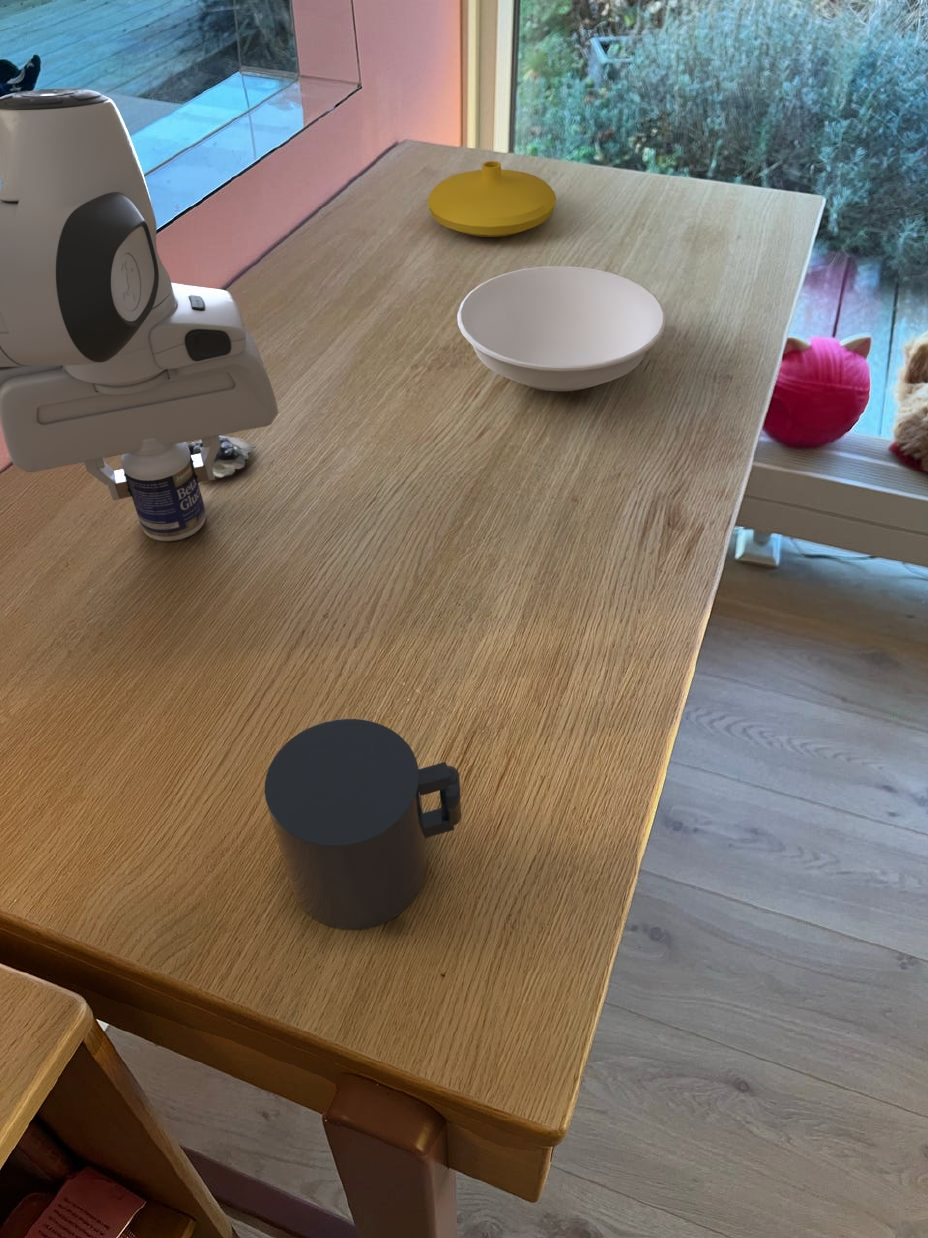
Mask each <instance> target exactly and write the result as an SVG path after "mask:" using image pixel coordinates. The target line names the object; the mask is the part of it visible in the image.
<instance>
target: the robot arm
mask: <svg viewBox="0 0 928 1238" xmlns="http://www.w3.org/2000/svg"><path fill="white" fill-rule="evenodd" d="M0 182H1V188H0V427H1V431H2V436H3V440H4V442H5V446H6V449H7V452H8V455H9V458H10V461H11V462H12V464H13V466H15V467H17V468H19V469H21V470H22V471H24V472H26V473H36V472H40V471H45V470H46V471H47V470H51V469H56V468H62V467H67V466H71V465H77V464H80V463H84V465H85V468H86V471H87V473H89V474H90V475H92V476H93V477H94V478H96V479H97V480H98V481H100V482H101V483H102V484H104V485H105V486H107V487H108V490H109V492H110V495H111V498H112V501H118V500H123V499H128V498H132V495H131V492H130V489H129V486H128V483H127V480H126V477H125V474H124V471H123V468H122V469H116V470H115V469H113V467H111V466H110V465H109V464H108V463H107V462H105V459H106V458H107V459H108V458H111V457H117V456H122V455H123V454H128V453H133V452H138V451H140V450H141V448H142V446H143V442H142V441H143V440H145V439H150V438H156V440H157V442H158V443H160V444H161V445H163V446H168V445H173V444H178V443H183V442H186V443H187V442H195V441H200V440H201V441H202V445H203V447H202V450H201V452H200V454H196V455H191V457H192V461H193V469H194V472H195V475H196V480H197V483H198V484H200V483H204V482H211V481H214V480H216V479H215V477H214V473H213V469H212V464H213V462H214V459H215V457H216V455H217V453H218V450H219V448H220V446H221V444H220V440H219V436H222V435H223V436H225V435H228V434H233V433H238V432H243V431H250V430H254V429H259V428H265V427H268V426H270V425H272V424H273V422H274V421H275V420H276V417H277V416H278V414H279V408H278V403H277V399H276V395H275V392H274V389H273V386H272V382H271V378H270V376H269V373H268V370H267V368H266V365H265V363H264V359H263V357H262V354H261V352H260V350H259V348H258V345H257V342H256V340H255V338H254V337H253V336H252V334H251V333H250V331H249V330H248V329H247V328H246V327H245V322H244V318H243V315H242V313H241V310H240V308H239V305H238V304H237V301H236V300H235V298H234V297H233V295H232V294H231V293H230V292H229V291H228V290H224V289H219V288H211V287H204V286H196V285H187V284H182V283H176V282H172V280H171V277H170V275H169V272H168V270H167V268H166V267H165V265H164V264H163V262H162V260H161V258H160V255H159V252H158V246H157V234H158V233H157V230H158V228H157V227H158V226H157V220H156V216H155V211H154V207H153V204H152V200H151V197H150V196H151V195H150V193H149V189H148V186H147V183H146V179H145V176H144V172H143V169H142V166H141V164H140V161H139V157H138V154H137V152H136V150H135V146H134V144H133V141H132V138H131V136H130V134H129V131H128V129H127V127H126V124H125V122H124V119H123V117H122V115H121V113H120V111H119V109H118V107H117V105H116V103H115V102H114V101H113V99H111V98H110V97H107V96H105V95H104V94H102V93H100V92H99V91H96V90H90V89H84V88H45V89H44V88H41V89H40V88H39V89H37V90H29V91H28V90H23V91H18V92H17V91H16V92H13V93H9V94H5V95H3V96H0Z"/></svg>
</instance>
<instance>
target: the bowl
mask: <svg viewBox="0 0 928 1238" xmlns="http://www.w3.org/2000/svg"><path fill="white" fill-rule="evenodd" d="M456 317H457V326H458V329H459V331H460V332H461V334H462V336H463V337H464V338H465V339H466V340H467V341H468V343H469V344H470V345H471V346H472V347H473V350H474V352H475V354H476V356H477V359H478V360H480V362H481V363H482V364H483V365H484V366H485V367H486V368H487V369H489V370H491V371H492V372H493V373H495V374H496V375H499V376H501V377H503V378H505V379H507V380H509V381H514V382H515V383H518V384H521V385H523V386H526V387H529V388H532V389H536V390H542V391H548V392H573V391H580V390H581V391H582V390H586V389H589V388H593V387H596V386H599V385H602V384H605V383H608V382H612V381H614V380H616V379H618V378H621V377H623V376H625V375H627V374H628V373H630V372H632V370H635V369H636V367H638V366H639V365H640V363H641V362H642V361H643V360H644V358H645V356H646V354H647V352H648V350H650V349H651V348H652V347H654V345H656V343H657V342H658V341H659V340H660V339H661V338H662V337H663V334H664V331H665V330H666V327H667V314H666V312H665V309H664V306H663V303H662V302H661V301H660V300H659V298H658V297H657V296H656V295H655V294H654V293H653V292H652V291H651V290H650V289H648V288H647V287H645V286H644V285H643V284H640V283H639V282H637V281H636V280H633V279H631V278H628V277H626V276H623V275H620V274H617V273H614V272H610V271H606V270H603V269H600V268H599V269H598V268H592V267H584V266H575V265H574V266H573V265H544V266H536V267H529V268H521V269H518V270H513V271H510V272H506V273H503V274H500V275H498V276H495V277H492V278H489V279H487V280H486V281H484V282H482V283H481V284H478V285H477V286H475V288H473V289H472V290H470V292H468V293H467V294H466V296H465V297H464V299H463V300H462V301H461V303H460V306H459V308H458V310H457V315H456Z"/></svg>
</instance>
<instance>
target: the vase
mask: <svg viewBox="0 0 928 1238" xmlns="http://www.w3.org/2000/svg"><path fill="white" fill-rule="evenodd" d="M481 168H482V169H477V170H470V171H464V172H462V173H457V174H455V175H452V176H449V177H447V178H445V179H443V180H441V181H440V182H439V183H438V184H437V185H435V186H434V188H433V189H432V190H431V191H430V194H429V195H428V197H427V205H428V208H429V211H430V215H431V216H432V217H433V218H434V220H435V221H436V222H437V223H439V224H440V225H442V226H444V227H445V228H448V229H450V230H454V231H457V232H460V233H462V234H465V235H468V236H474V237H481V238H498V237H506V236H512V235H516V234H520V233H523V232H525V231H527V230H530V229H532V228H535V227H538V226H539V225H541V224H542V223H544V222H546V221H547V220H548V219H549V218H550V217H551V216H552V214H553V211H554V209H555V206H556V202H557V196H556V193H555V191H554V189H553V188H552V187H551V186H550V185H549V184H548V183H547V182H546V181H545V180H544V179H542V178H540V177H538V176H536V175H535V174H530V173H528V172H524V171H519V170H513V169H502V164H501V162H499V161H496V160H488V161H484V162H483V163H482V164H481Z"/></svg>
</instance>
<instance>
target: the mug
mask: <svg viewBox="0 0 928 1238" xmlns="http://www.w3.org/2000/svg"><path fill="white" fill-rule="evenodd" d="M265 775H266V776H265V780H264V799H265V803H266V806H267V810H268V814H269V816H270V820H271V824H272V827H273V830H274V834H275V837H276V841H277V844H278V849H279V852H280V855H281V857H282V862H283V866H284V869H285V872H286V875H287V876H286V877H287V879H288V883H289V886H290V889H291V892H292V895H293V897H294V899H295V902H296V903H297V904H298V906H299V907H300V909H302V910H303V911H304V912H305V914H307V915H308V916H309V917H311V918H312V920H315V921H317V922H319V923H320V924H322V925H325V926H327V927H331V928H333V929H340V930H345V931H347V930H348V931H358V930H366V929H370V928H375V927H379V926H380V925H383V924H385V923H387V922H390V921H392V920H394V919H395V918H397V917H398V916H399V915H401V914H402V913H403V912H404V911H405V910H407V909H408V908H409V907H410V905H411V904H412V903H413V902H414V901H415V900H416V898H417V897H418V896H419V894H420V892H421V891H422V890H421V889H422V888H423V886H424V884H425V881H426V878H427V874H428V854H427V853H428V852H427V843H426V841H427V840H426V839H427V838H431V837H434V836H438V835H441V834H446V833H449V832H452V831H454V830H455V826H457V825H458V824H459V823H460V822H461V821H462V801H461V800H462V799H461V782H460V772H459V770H458V769H457V768H456V767H454V766H452V765H448V764H447V762H446V761H443V762H439V763H435V764H432V765H427V766H425V767H422V768H419V764H418V760H417V757H416V754H415V753H414V751H413V750H412V748H411V746H410V745H409V744H408V742H407V741H406V740H405V739H404V738H403V737H402V736H400V734H399V733H397V732H395V731H394V730H393V729H391V728H389V727H387V726H385V725H383V724H381V723H377V722H375V721H372V720H366V719H359V718H339V719H333V720H328V721H324V722H321V723H318V724H317V723H316V724H315V725H312V726H310V727H308V728H306V729H304V730H302V731H301V732H298V734H296V735H294V736H293V737H292V738H290V739H289V740H288V741H287V742H286V743H285V744H284V745H282V747H281V748H280V749H279V750H278V751H277V753H276V754H275V756H274V757H273V759H272V761H271V763H270V764H269V766H268V769H267V772H266V774H265ZM437 792H439V803H440V804H439V805H440V807H439V808H435V809H433V810H429V811H426V812H425V811H423V801H422V796H425V795H429V794H433V793H437Z"/></svg>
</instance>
